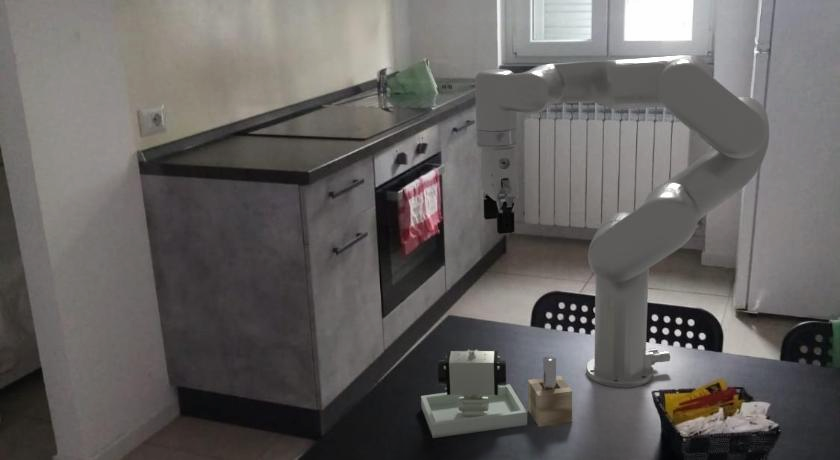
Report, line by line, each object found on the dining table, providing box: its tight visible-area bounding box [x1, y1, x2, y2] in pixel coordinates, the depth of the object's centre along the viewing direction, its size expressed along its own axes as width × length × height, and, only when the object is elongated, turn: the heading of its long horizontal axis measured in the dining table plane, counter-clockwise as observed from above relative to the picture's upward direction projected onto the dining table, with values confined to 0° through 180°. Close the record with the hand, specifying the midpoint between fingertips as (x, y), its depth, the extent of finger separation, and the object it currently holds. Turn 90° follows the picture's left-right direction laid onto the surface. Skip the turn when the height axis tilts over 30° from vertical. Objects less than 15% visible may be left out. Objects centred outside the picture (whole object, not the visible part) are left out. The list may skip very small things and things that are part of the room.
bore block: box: [527, 375, 573, 428], centre depth 151 cm, size 6×6×6 cm
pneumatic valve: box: [437, 349, 507, 417], centre depth 152 cm, size 6×12×12 cm, turn 84°
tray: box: [420, 383, 528, 439], centre depth 153 cm, size 17×11×2 cm, turn 100°
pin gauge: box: [542, 356, 557, 391], centre depth 150 cm, size 2×2×11 cm
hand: (498, 225), depth 166 cm, fingers open, 9 cm apart
